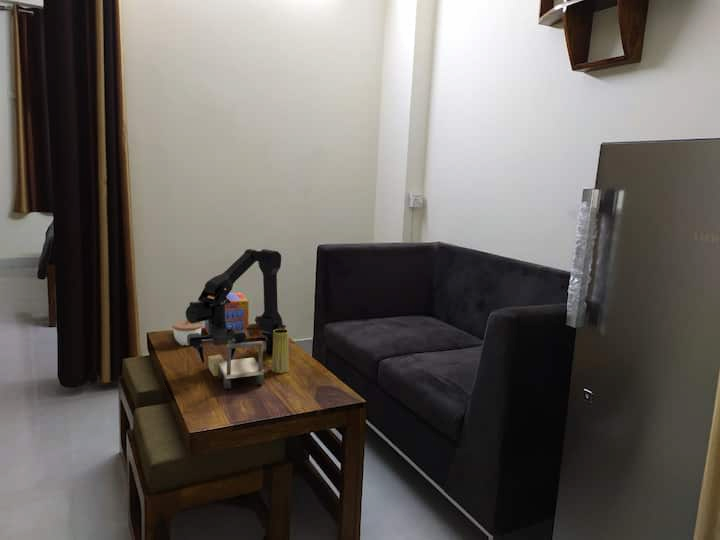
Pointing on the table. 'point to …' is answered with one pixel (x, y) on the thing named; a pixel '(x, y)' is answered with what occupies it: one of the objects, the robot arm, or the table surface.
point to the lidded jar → (185, 330)
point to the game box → (235, 313)
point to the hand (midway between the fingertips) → (216, 361)
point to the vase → (280, 351)
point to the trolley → (241, 365)
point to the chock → (214, 363)
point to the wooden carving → (256, 329)
